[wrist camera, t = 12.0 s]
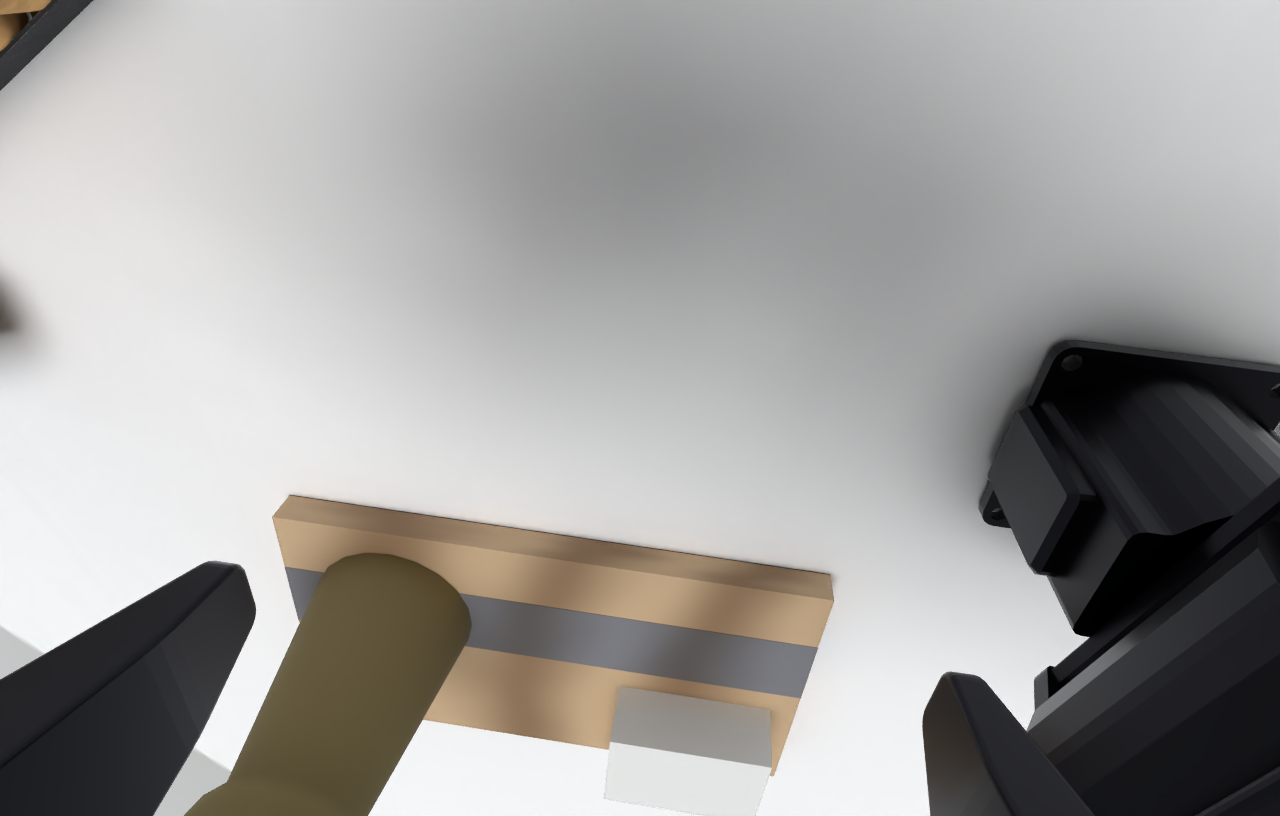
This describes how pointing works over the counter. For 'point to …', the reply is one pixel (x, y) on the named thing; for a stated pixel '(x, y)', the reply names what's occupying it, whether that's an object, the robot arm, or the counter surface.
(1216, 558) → the robot arm
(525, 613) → the oak plank
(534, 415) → the counter surface
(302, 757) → the cork
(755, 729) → the white rectangular prism
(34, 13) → the ammunition clip
